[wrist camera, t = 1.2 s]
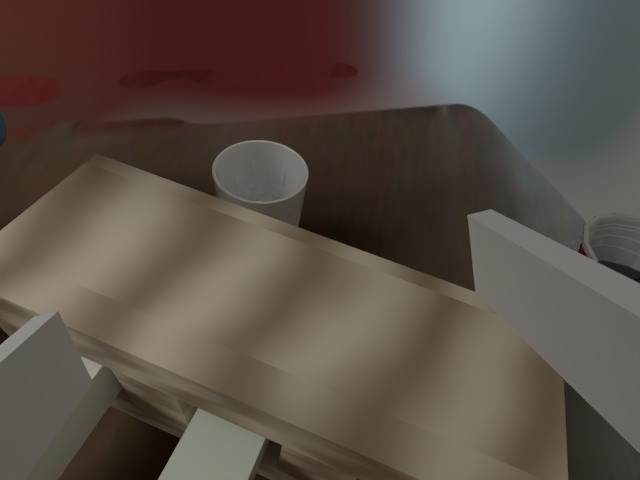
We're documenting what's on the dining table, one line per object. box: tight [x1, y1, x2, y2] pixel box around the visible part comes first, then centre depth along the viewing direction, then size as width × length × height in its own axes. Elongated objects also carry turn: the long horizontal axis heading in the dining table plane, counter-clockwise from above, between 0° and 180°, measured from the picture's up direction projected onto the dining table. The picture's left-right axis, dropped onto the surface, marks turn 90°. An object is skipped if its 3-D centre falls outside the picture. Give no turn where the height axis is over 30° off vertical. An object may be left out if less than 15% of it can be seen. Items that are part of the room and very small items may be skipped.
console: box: [0, 154, 568, 480], centre depth 26 cm, size 30×10×14 cm, turn 70°
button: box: [25, 356, 123, 480], centre depth 23 cm, size 5×8×5 cm, turn 160°
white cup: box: [212, 140, 308, 227], centre depth 37 cm, size 8×8×10 cm
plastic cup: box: [578, 213, 640, 271], centre depth 34 cm, size 11×11×12 cm
